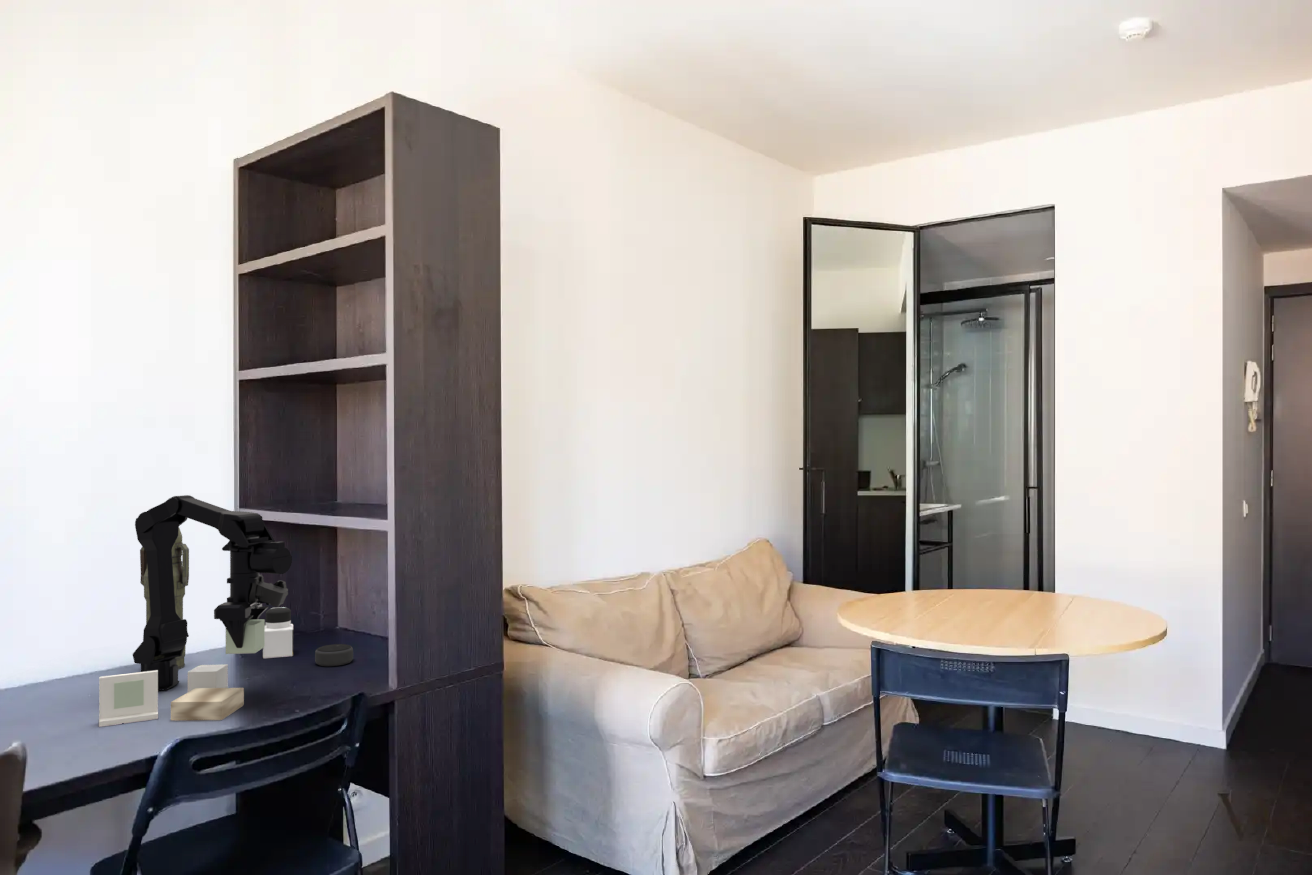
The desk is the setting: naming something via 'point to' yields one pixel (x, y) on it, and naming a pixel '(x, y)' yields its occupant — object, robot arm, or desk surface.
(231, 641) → the sage cube
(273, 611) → the medicine bottle
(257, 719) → the desk surface
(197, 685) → the grey cube
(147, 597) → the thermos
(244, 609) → the robot arm
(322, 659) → the smart speaker
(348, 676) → the desk surface
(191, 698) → the birch block
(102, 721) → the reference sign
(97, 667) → the desk surface
